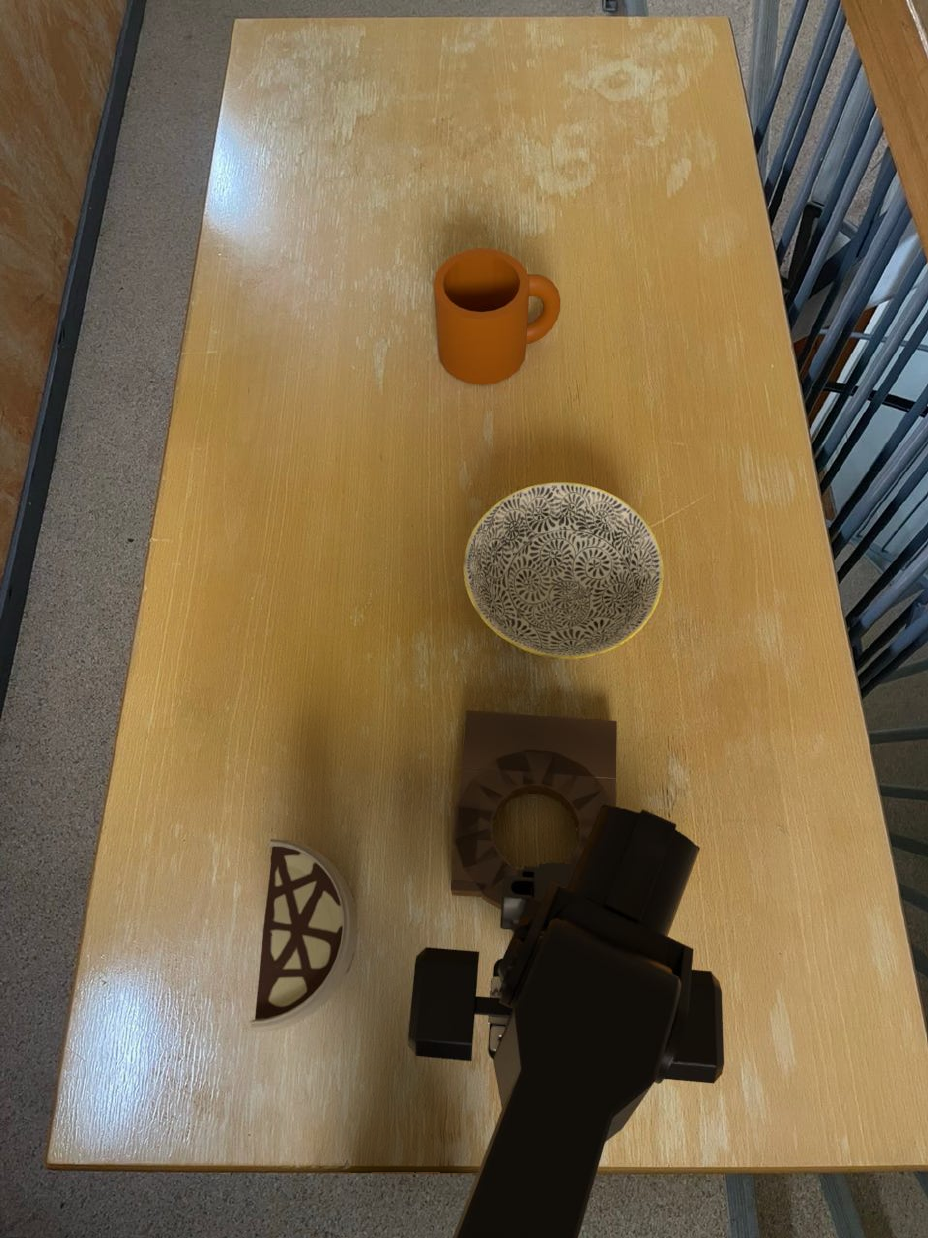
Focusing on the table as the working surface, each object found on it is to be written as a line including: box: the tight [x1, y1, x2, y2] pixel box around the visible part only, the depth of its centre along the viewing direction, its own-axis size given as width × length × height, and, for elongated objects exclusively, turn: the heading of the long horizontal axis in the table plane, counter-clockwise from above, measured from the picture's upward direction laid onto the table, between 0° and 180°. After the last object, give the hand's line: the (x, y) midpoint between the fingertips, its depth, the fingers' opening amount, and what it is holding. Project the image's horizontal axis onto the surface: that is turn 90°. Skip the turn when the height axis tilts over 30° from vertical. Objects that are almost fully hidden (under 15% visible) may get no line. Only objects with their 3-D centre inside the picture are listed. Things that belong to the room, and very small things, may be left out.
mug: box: [432, 247, 561, 386], centre depth 88 cm, size 9×12×9 cm
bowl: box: [462, 481, 665, 660], centre depth 77 cm, size 16×16×8 cm
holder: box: [450, 710, 618, 910], centre depth 71 cm, size 15×12×2 cm
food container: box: [248, 838, 358, 1034], centre depth 64 cm, size 12×6×10 cm, turn 179°
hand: (555, 1016), depth 64 cm, fingers closed
